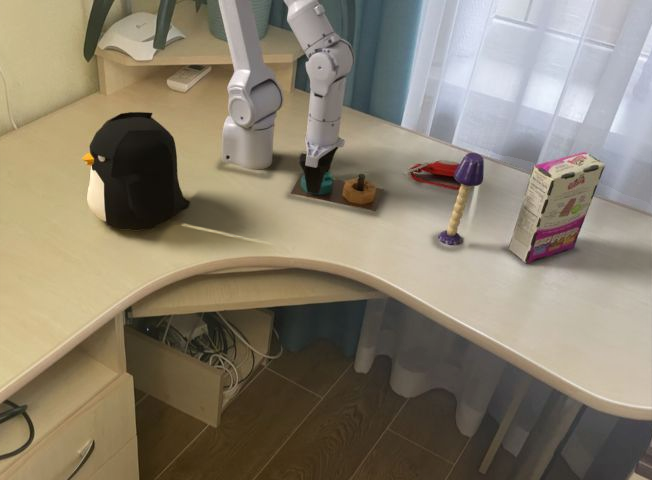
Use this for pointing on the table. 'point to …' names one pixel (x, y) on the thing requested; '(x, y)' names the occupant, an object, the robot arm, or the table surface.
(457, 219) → the toy lamp
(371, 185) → the ochre ring
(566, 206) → the candy bar box
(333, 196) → the peg rack
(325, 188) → the teal ring
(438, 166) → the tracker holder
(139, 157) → the penguin
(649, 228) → the table surface
